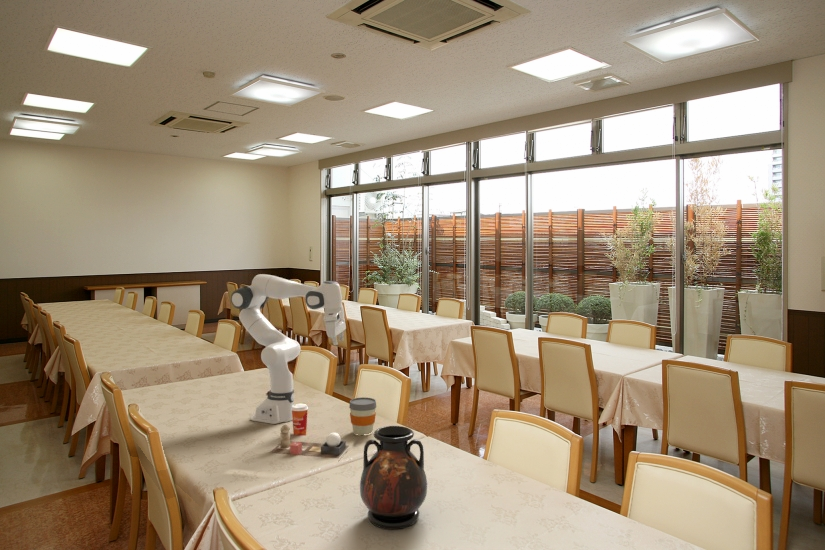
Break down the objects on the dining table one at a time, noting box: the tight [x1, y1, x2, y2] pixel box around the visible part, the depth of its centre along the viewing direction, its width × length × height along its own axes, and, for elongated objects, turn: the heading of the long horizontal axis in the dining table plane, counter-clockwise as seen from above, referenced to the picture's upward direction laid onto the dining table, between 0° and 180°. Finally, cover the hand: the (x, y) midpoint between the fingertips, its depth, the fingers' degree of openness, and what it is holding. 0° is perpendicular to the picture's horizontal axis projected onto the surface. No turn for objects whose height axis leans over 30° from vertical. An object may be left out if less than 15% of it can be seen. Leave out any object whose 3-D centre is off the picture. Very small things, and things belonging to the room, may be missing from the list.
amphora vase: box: [359, 425, 428, 530], centre depth 170 cm, size 22×22×28 cm
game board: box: [268, 440, 349, 463], centre depth 225 cm, size 30×14×4 cm, turn 79°
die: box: [289, 441, 302, 456], centre depth 221 cm, size 4×4×4 cm
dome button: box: [325, 431, 342, 447], centre depth 223 cm, size 6×6×6 cm
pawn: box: [279, 424, 291, 448], centre depth 227 cm, size 4×4×9 cm
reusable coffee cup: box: [348, 396, 377, 435], centre depth 249 cm, size 12×13×15 cm
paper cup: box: [291, 403, 309, 436], centre depth 245 cm, size 8×8×14 cm
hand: (338, 342), depth 256 cm, fingers open, 8 cm apart
